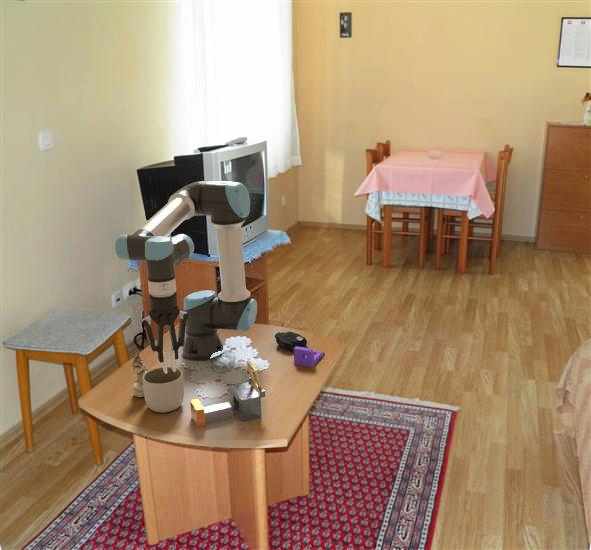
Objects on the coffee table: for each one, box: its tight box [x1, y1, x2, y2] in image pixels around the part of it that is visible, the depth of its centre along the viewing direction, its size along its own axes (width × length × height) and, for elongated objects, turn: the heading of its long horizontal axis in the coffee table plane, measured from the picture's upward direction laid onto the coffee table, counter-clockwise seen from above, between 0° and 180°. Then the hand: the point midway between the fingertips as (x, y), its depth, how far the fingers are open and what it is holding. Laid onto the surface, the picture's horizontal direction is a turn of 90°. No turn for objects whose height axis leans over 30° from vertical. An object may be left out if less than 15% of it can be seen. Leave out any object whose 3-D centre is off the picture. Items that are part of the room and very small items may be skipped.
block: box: [230, 376, 266, 422], centre depth 202 cm, size 11×8×8 cm
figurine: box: [130, 352, 149, 398], centre depth 213 cm, size 7×7×15 cm
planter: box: [142, 366, 185, 414], centre depth 205 cm, size 12×12×11 cm
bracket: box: [293, 346, 325, 368], centre depth 237 cm, size 12×7×7 cm, turn 156°
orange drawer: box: [189, 398, 234, 429], centre depth 198 cm, size 11×7×6 cm, turn 114°
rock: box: [274, 331, 308, 352], centre depth 247 cm, size 10×9×6 cm
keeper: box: [246, 360, 263, 393], centre depth 200 cm, size 8×1×8 cm, turn 24°
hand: (169, 370), depth 189 cm, fingers closed
